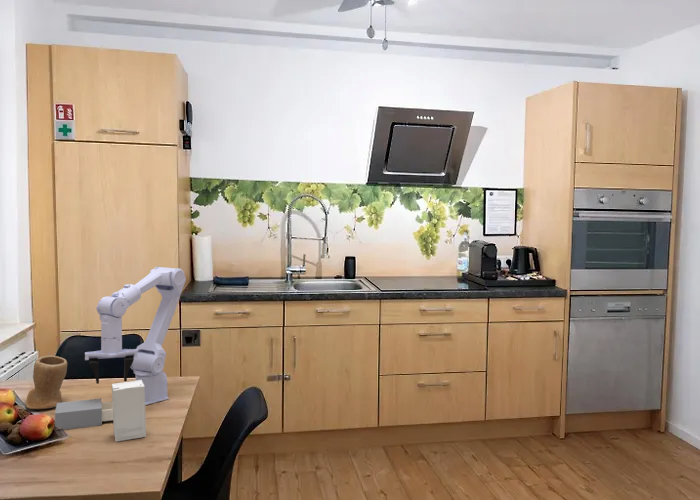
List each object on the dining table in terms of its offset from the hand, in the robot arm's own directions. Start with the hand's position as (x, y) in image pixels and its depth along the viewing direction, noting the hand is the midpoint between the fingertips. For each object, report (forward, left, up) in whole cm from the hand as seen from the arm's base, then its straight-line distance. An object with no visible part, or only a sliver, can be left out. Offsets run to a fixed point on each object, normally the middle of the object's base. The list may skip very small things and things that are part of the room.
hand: (111, 381), depth 178 cm
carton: (+9, -2, -10) cm, 14 cm away
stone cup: (+9, -24, -11) cm, 28 cm away
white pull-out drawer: (+2, +2, -10) cm, 11 cm away
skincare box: (+5, +18, -11) cm, 21 cm away
